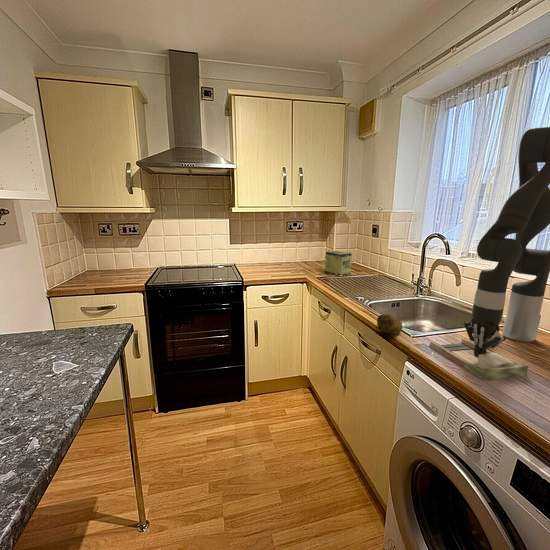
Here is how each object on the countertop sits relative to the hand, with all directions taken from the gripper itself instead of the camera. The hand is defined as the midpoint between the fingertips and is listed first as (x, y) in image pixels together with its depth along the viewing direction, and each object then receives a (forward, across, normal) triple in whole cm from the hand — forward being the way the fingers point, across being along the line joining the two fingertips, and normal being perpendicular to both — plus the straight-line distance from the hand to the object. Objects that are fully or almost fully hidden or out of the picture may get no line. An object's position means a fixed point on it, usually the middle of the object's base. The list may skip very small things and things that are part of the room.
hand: (478, 357), depth 93 cm
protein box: (+2, +126, -7) cm, 126 cm away
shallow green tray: (+2, +2, 0) cm, 2 cm away
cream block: (+2, -5, -1) cm, 5 cm away
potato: (+2, +25, +15) cm, 29 cm away
